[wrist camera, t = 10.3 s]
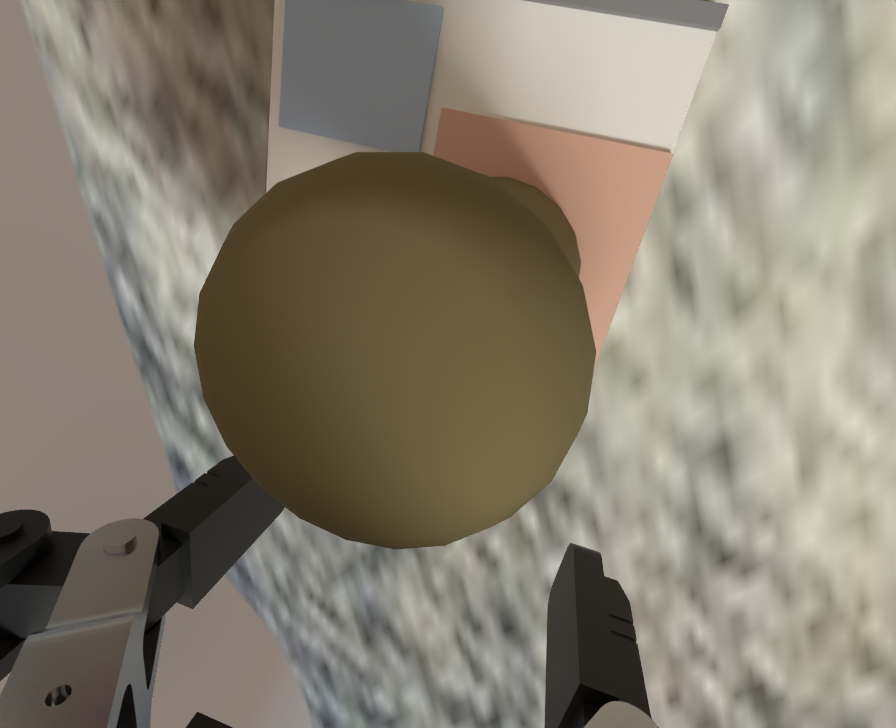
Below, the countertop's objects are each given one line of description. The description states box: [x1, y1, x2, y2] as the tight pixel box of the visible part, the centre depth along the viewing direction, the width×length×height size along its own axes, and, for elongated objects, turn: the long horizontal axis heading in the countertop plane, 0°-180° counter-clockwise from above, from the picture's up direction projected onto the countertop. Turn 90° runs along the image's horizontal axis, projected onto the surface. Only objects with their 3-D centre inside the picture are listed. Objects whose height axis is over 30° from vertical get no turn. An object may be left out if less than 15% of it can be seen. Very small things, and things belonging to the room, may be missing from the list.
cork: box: [194, 152, 596, 549], centre depth 9 cm, size 6×6×11 cm
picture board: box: [266, 0, 729, 368], centre depth 14 cm, size 13×12×1 cm
